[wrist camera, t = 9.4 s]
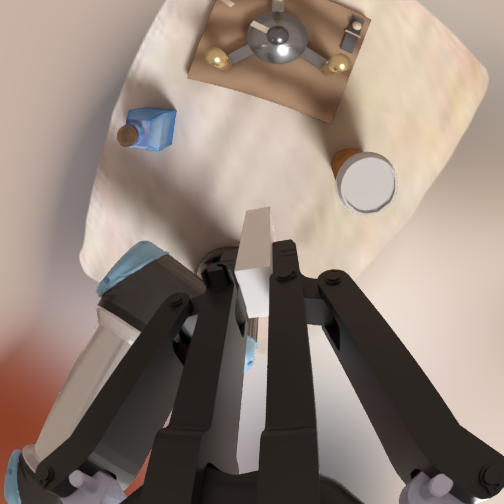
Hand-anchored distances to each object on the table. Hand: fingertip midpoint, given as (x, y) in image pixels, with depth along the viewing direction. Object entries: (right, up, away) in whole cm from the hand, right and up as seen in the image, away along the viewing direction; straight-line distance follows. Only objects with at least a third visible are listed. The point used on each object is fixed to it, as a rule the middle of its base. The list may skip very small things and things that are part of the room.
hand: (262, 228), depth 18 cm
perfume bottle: (-17, +21, +26) cm, 38 cm away
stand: (+3, +32, +18) cm, 37 cm away
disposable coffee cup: (+16, +14, +28) cm, 35 cm away
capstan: (+5, +30, +16) cm, 34 cm away
